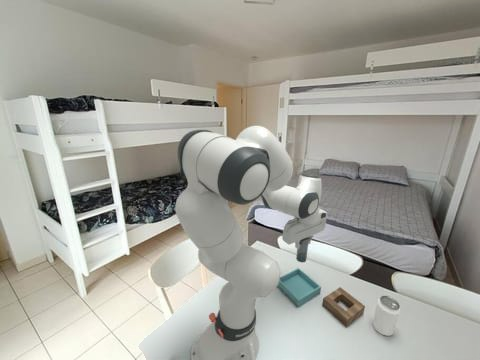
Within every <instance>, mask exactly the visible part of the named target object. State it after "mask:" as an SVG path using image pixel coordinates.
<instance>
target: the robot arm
mask: <svg viewBox="0 0 480 360" xmlns="http://www.w3.org/2000/svg"><path fill="white" fill-rule="evenodd" d="M177 161H178V164H179V173H180V174H179V176H180V178H181V179H182V181H184V182H185V183H187V186H186V188H185V189H183V190H182V192H181V193H180V194H179V196H178V197H177V199H176V202H175V206H174V207H175V209H174V211H175V215H176V216H177V219H178V221H179V223H180V226H181V227H182V229H183V230H184V232H185V234H186V235H187V237H188V238H189V240H190V241H191V242H192V243H193V244H194V245H195V247H196V248H197V249H198V253H197V256H198V257H197V258H198V261H199V263H200V264H201V265H203V266H204V267H205V268H206V269H207V270H208V271H209V272H211V273H212V274H214V275H216V276H218V277H219V278H222V279H223V280H225V281H227V282H226V283H225V284H224V285H223V286H222V288H221V290H220V292H219V297H218V298H219V309H218V312H217V314H215V313H214V312H211V313H209V315H208V318H209V320H210V322H211V323H210V324H209V325H208V326H207V327H206V329H205V330H203V331H202V333H200V335H199V337H198V340H197V341H195V343H193V344H192V346H191V349H190V360H256V358H257V355H258V353H259V348H260V344H259V343H260V342H259V339H258V336H257V332H256V324H257V312H256V301H257V299H258V298H263V297H264V298H265V297H268V296H270V295H272V293H274V292H275V290H276V289H277V288H278V287H277V286H278V284H279V281H280V277H281V268H280V265H279V262H278V261H277V259H274V257H272V256H270V255H269V254H267V253H266V252H264V251H263V250H260V249H257V248H254V247H252V246H250V245H248V244H245V243H244V232H243V230H242V227H241V226H240V224H239V221H238V220H237V217H236V216H235V214H234V212H233V211H232V208H231V207H230V206H229V202H230V203H234V204H236V205H241V206H245V205H248V204H251V203H252V202H255V201H256V200H257V199H259V198H260V197H261V200H262V203H263V205H264V207H265V208H267V209H269V210H273V211H278V212H280V213H283V214H285V215H289V216H292V217H293V218H292V219H289V220H288V221H287V222H286V223H285V225H284V227H283V231H282V237H281V238H282V241H283V242H284V243H286V245H292V244H294V245H295V247H294V248H295V249H299V248H301V244H300V243H299V242H300V240H302V239H304V238H307V237H308V238H309V242H308V245H310V244H311V242H312V240H313V238H314V235H316V234H318V233H320V232H321V233H322V232H323V231H324V230H325V228H326V225H327V224H326V223H327V217H328V212H327V211H325V210H323V209H322V208H320V202H321V199H322V187H323V185H322V178H321V177H320V176H318V175H315V174H310V173H309V174H308V173H302V174H301V173H300V175H299V176H298V181H297V186H296V187H293V186H289V185H287V184H288V183H289V182H290V180H291V178H292V176H293V174H294V173H293V172H294V165H293V164H294V163H293V161H292V158H291V157H290V155H289V153H288V152H287V150H286V148H285V147H284V145H283V144H282V143H281V142H280V140H279V139H278V137H276V135H275V134H273V133H272V131H270V130H269V129H268V128H267V127H265V126H262V125H251V126H248V127H246V128H244V129H242V130H241V132H240V133H239V134H238V135H237V136H236V139H233V138H232V137H229V136H227V135H224V134H221V133H217V132H213V131H211V130H208V129H195V130H192V131H189V132H187V133H186V134H184V135H183V136H182V138H181V139H180V141H179V143H178V147H177Z"/></svg>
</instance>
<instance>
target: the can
mask: <svg viewBox="0 0 480 360" xmlns="http://www.w3.org/2000/svg"><path fill="white" fill-rule="evenodd" d="M400 313H401V309H400V303H399V302H398V301H397V300H396V299H395V298H394V297H391V296H390V295H389V296H388V295H382V296H381V297H380V298H379V299H378V300H377V302H376V306H375V310H374V314H373V319H372V321H371V323H372V326H373V328H374V330H375V331H376V332H378V333H379V334H381V335H383V336H386V337H387V336H388V337H389V336H392V335H393V334H394V331H395V329H396V326H397V323H398V319H399V317H400Z"/></svg>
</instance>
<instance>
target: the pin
mask: <svg viewBox="0 0 480 360" xmlns="http://www.w3.org/2000/svg"><path fill="white" fill-rule="evenodd" d="M308 242H309V238H308V237H307V238H304V239H302V240H300V242H299V243H300V244H301V248H299V249H297V248H296V249H297V250H296V255H295V256H296V257H295V260H296V261H297V262H299V263H305V262H306V263H307V257H308V251H309V250H308V247H309V244H308Z"/></svg>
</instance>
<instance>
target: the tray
mask: <svg viewBox="0 0 480 360" xmlns="http://www.w3.org/2000/svg"><path fill="white" fill-rule="evenodd" d="M277 288H278V289H279V290H280V291H281V293H283V294H284V295H285V297H287V298H288V299H289V300H290V302H291V303H292V304H293V305H294V306H295V307H296V308H297V309H298V308H300V307H302V306H304V305H305V304H307V303H309V302H310V301H311V300H313V299H315V298H316V297H318V296H320V295H321V291H322V286H321V285H319V283H317V281H315V280H314V279H313V278H311V277H310V276H309V275H308V274H306V273H305V272H304V271H303V270H302V269H300V267H298V268H295V269H293V270H291V271H290V272H288V273H286V274H284V275H282V276H281V275H280V281H279V284H278V286H277Z"/></svg>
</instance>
